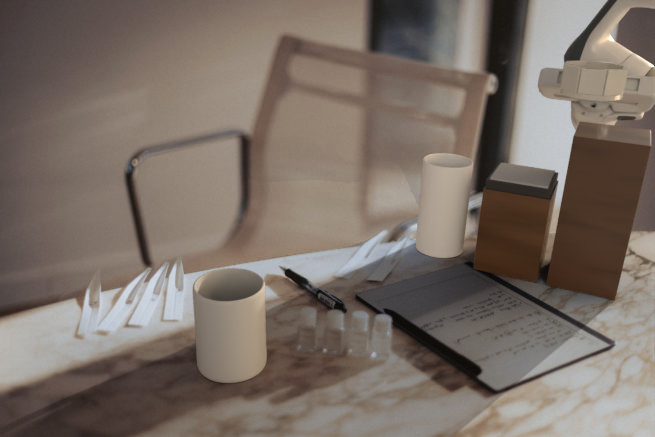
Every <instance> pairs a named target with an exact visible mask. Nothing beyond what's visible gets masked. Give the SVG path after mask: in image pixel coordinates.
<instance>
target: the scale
mask: <svg viewBox="0 0 655 437" xmlns="http://www.w3.org/2000/svg"><path fill="white" fill-rule="evenodd" d="M558 178H559V172H556V170H554V169H547V168H541V167H534V166H528V165H521V164H515V163H507V162H503V161H502V162H500V163H498V164H497V165H496V166H495V168H494V169H493V171H492V172H491V173H490V174H489V176H488V177H487V178H486V180H485V186H484V188H486V189H492V190H498V191H504V192H510V193H515V194H521V195H527V196H533V197H539V198H545V199H550V197H551V194H552V192H553V189H554V187H555V185H556V182H557V181H558Z"/></svg>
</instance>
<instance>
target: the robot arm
mask: <svg viewBox="0 0 655 437" xmlns="http://www.w3.org/2000/svg"><path fill="white" fill-rule="evenodd" d="M632 8H645V9H653V10H655V0H606V2H605V3H604V5H602V7H601V8H600V9H599V11H598V12H597V14H595V16H594V17H593V18H592V19H591V21H590V22H589V23H588V24H587V26H586V27H585V28H584V29H583V31H582V32H581V33H580V34H579V35H578V36H577V37H576V38H574V40H573V41H572V42H571V43H570V44H569V46H568V47H567V49H566V51H565V53H564V55H563V64H564V63H565V62H566V61H580V60H586V61H587V60H589V61H601V62H610V63H616V64H621V65H626V66H629V69H628V74H627V79H626V84H625V89H624V94H623V98H622V99H620V100H615V101H593V100H584V99H577V98H572V97H568V96H565V95H563V94H561V93H560V89H561V88H560V84H561V78H562V72H563V68H556V67H544V68H541V69H540V72H539V76H538V80H537V89H538V92H539V93H540V94H541V96H542V97H544V98H546V99H551V100H556V101H567V102H570V120H571V124H572V126H573V128H574V130H575V131H576V129H577V127H578V124H579V122H580V121H581V122H589V123H598V124H606V125H614V126H616V123H617V122H618V121H641V120H642V119H643V118H644V115H645V113H647V112H649V111H650V110H651V109H652V108H653V107H654V106H655V65H654V64H652V63H651V62H650V61H648V60H646V59H645V58H643V57H642V56H640V55H639V54H637V53H634V52H632V51H631V50H630V49H628V48H627V47H625V46H624V45H622V44H621V43H619V42H617V41H615V40H614V38H613V37H612V35H611V32H612V31H613V30H614V29H615V27H616V26H617V25H618V24H619V22H621V20H622V19H623V18H624V17H625V16H626V14H627V13H628V12H629V11H630V9H632Z"/></svg>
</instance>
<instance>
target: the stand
mask: <svg viewBox="0 0 655 437" xmlns="http://www.w3.org/2000/svg"><path fill="white" fill-rule="evenodd" d="M651 150H652V130H651V129H648V128H647V129H646V128H638V127H630V126H623V125H606V124H598V123H589V122H581V121H580V122H579V124H578V127H577V129H576V130H575V131H574V134H573V136H572V143H571V147H570V152H569V158H568V164H567V169H566V170H567V171H566V175H565V180H564V186H563V191H562V196H561V201H560V207H559V212H558V213H559V214H558V218H557V223H556V229H555V234H554V239H553V245H552V251H551V255H550V261H549V266H548V271H547V276H546V277H547V279H546V283H545V285H546V286H548V287H553V288H558V289H563V290H567V291H572V292H575V293H581V294H585V295H589V296H594V297H598V298H603V299H607V300H612V301H616V297H617V294H618V289H619V285H620V281H621V277H622V272H623V268H624V264H625V259H626V255H627V252H628V247H629V244H630V238H631V234H632V231H633V226H634V222H635V217H636V214H637V209H638V204H639V201H640V196H641V192H642V187H643V184H644V180H645V175H646V171H647V168H648V167H647V166H648V163H649V159H650V154H651ZM558 186H559V180H557V182H556V185H555V187H554V189H553V192H552V194H551V197H550V199H545V198H539V197H533V196H527V195H521V194H515V193H510V192H504V191H498V190H492V189H486V188H485V187H483V190H482V198H481V203H480V204H481V206H480V212H479V220H478V226H477V227H478V228H477V235H476V243H475V251H474V258H473V266H472V270H475V271H481V272H485V273H489V274H493V275H494V274H495V275H499V276H503V277H508V278H512V279H516V280H521V281H525V282H531V283H537V281H538V278H539V276H540V273H541V269H542V267H543V263H544V261H545V259H546V258H545V257H546V252H547V246H548V241H549V236H550V230H551V224H552V220H553V214H554V209H555V208H554V207H555V202H556V196H557V192H558Z"/></svg>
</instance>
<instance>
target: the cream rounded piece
mask: <svg viewBox="0 0 655 437" xmlns="http://www.w3.org/2000/svg"><path fill="white" fill-rule="evenodd" d="M562 66H563V67H562V69H563V72H562V78H561V84H560V88H561V89H560V93H561V94H563V95H565V96H568V97H572V98H577V99H584V100H593V101H615V100H620V99H622V98H623V94H624V89H625V84H626V79H627V74H628V69H629V66H626V65H621V64H616V63H610V62H601V61H589V60H587V61H586V60H580V61H566V62H565V63H564V62H563V65H562Z"/></svg>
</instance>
